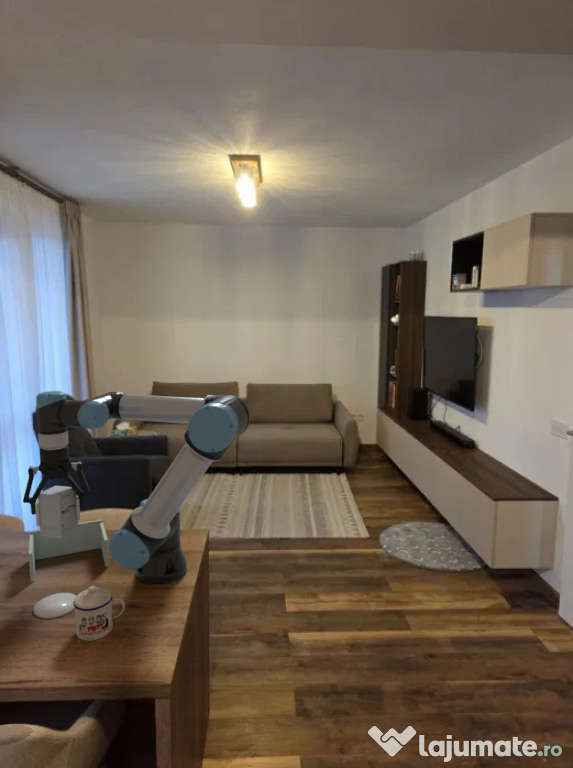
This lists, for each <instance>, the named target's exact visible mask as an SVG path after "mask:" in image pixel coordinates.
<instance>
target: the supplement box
mask: <svg viewBox="0 0 573 768" xmlns="http://www.w3.org/2000/svg"><path fill="white" fill-rule="evenodd" d="M76 496H77V494H76V493H75V491H74V490H73V489H72V487H71V486H64V485H63V486H62V485H54V486H52V487H49V488H47V489H45V490H42V491H41V493H40V495H39V497H38V498H37V501H38V505H39V520H40V526H39V530H40V535H41V536H47V537H54V538H63V537H64V536H66V535H67V534H69V533H70V532H72V531H74V530H75V529H77V528H78V523H79V522H78V521H77V504H76Z"/></svg>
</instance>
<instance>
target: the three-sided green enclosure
mask: <svg viewBox="0 0 573 768" xmlns="http://www.w3.org/2000/svg"><path fill="white" fill-rule="evenodd" d="M28 542H29V543H28V563H29V578H30V583H35V581H36V580H35V576H36V575H35V574H36V573H35V572H36V571H35V570H36V561H37V560H38V561H39V560H43V559H49V558H54V557H60V556H65V555H70V554H75V553H81V552H86V551H92V550H98V549H101V553H102V558H103V561H104V566H105V568H108V567H110V559H109V539H108V535H107V532H106V528H105V525H104V520H103V519H97V520H91V521H85V522H78V528H77V529H75V530H74V531H72V532H70V533H69V534H67V535H66V536H64V537H63V538H54V537H47V536H41V535H40V529H35V530H30V531H29V541H28Z"/></svg>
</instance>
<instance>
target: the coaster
mask: <svg viewBox="0 0 573 768" xmlns="http://www.w3.org/2000/svg"><path fill="white" fill-rule="evenodd" d="M76 596H77V595H75V593H71V592H57V593H54V594H53V593H52V594H50V595H48V596H44V597H43V598H41V599H40V600H38V601H37V602H36V604H35V605H34V607H33V613H34V615H35V617H38V618H40V619H55V618H58V617H59V618H60V617H62V616H65V615H67V614H69V613H71V612H72V611H75V607H74V605H73V602H74V599H75V597H76Z"/></svg>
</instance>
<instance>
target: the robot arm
mask: <svg viewBox="0 0 573 768" xmlns="http://www.w3.org/2000/svg"><path fill="white" fill-rule="evenodd" d="M66 396H67V395H66V393H65V392H64V391H62V390H51V391H49V390H48V391H44V392H39V393H38V394H37V395H36V397H35V398H36V401H35V402H36V404H35V405H36V406H35V410H36V411H35V412H36V418H37V428H38V430H37V431H38V432H37V435H38V437H37V438H38V446H39V450H38V451H39V461H40V462H39V465H38V466H33V465H30V466H29V467H28V470H27V473H28V480H27V482H26V488H25V492H24V494H23V495H24V496H23V499H22V502H23V503H24V504H27V503H28V504H29V505H30V512H31V515H33V516H34V515H35V520H36V521H35V522H36V527H40V520H39V505H38V497H39V495H40V493H41V492H43V489H44V487H45V485H46V484H47V482H48V480H51V481H52V480H56V479H58V480H61V479H62V480H63V479H64V480H65V481H66V482H67V484H68V485H69V487H72V489H73V490H74V491H75V493H76V504H77V521H81V509H83V508H84V507H85V503H84V501H85V500H84V498H85V497H86V496H89V495H90V494H91V493H90V492H91V490H90V488H89V485H88V482H87V480H86V477H85V475H84V472H83V470H82V469H83V468H82V461H80V460H79V461H77V462H71V458H70V447H69V446H68V445H69V433H68V432H69V430H68V428H76V429H78V428H79V429H88V430H93V429H95V430H96V429H97V430H98V429H102V428H104V427H105V426H106V424H107V423H108V421H110V420H129V421H143V422H144V421H145V422H158V423H161V422H162V423H173V424H187V429H186V431H185V432H184V434H183V440H184V445H183V446H182V448H181V449H180V450H179V452H178V453H177V455H176V456H175V458H174V460H173V461H172V463H171V464H170V465H169V467H168V468H167V470H166V471H165V473H164V474H163V476H162V477H161V479H160V480H159V482H157V484H156V486H155V487H154V490H153V491H152V492H151V493H150V495H149V496H148V498H146V499H144V500H142V501H141V502H140V504H139V506H138V507H136V508H134V509H133V510H132V512H131V513H130V515H129V516H128V517H127V518H126V521H125V522H124V524H123V525H121V527H120V528H119V529H117V530H116V531H115V532H114V533H113V534H112V535H111V537H110V538H109V540H108V551H109V552H110V556H111V557H112V559H113V561H114V562H115V563H116V564H118V566H119V567H121V568H124V569H127V570H134V571H135V570H136V578H137V579H138V581H140V582H141V583H144V584H147V585H165V584H169V583H172V582H173V583H174V582H175V581H178V580H179V579H181V578H183V576H184V575H185V574H186V572H187V570H188V566H187V564H188V563H187V562H188V561H187V559H186V556H185V554H184V551H183V549H182V544H181V510H180V508H182V506H183V505H184V503H185V502H186V500H187V498H188V497H189V496H190V494H191V493H192V492H193V490H194V488H195V487H196V486H197V485H198V483H199V481H200V480H201V479H202V477H203V476H204V475H205V473H206V472H207V470H208V469H209V467H210V466H211V464H212V463H213V462H218V461H219V462H220V461H221V460H222V459H223V457H224V456H225V455H226V453H228V450H229V449H230V447H232V444H233V443H234V442H235V441H236V439H237V438H239V437H240V436H242V435H243V434H244V433H245V432H246V431H247V429H248V428H249V426H250V423H251V420H252V414H251V410H250V407H249V405H248V404H247V403H246V402H245V400H244V399H242V397H239V396H236V395H231V394H229V395H226V394H223V395H222V394H219V395H214V394H207V396H205V397H204V398H203V397H186V396H185V397H184V396H183V397H182V396H163V395H149V394H148V395H145V394H131V393H130V394H127V393H124V392H122V391H109V392H107V393H103V394H100V395H97V396H94V397H90V398H87V399H84V400H83V399H82V400H79V399H77V400H74V399H72V400H71V399H67V397H66ZM72 468H73V470H74V471H76V473H77V476H78V479H79V481H80V484H81V487H82V489H83V490H82V489H81V487H80V486H79V485H78V483H77V482H76V481H75V480H74V479H73V477H72V476H71V473H70V472H69V471H70V469H72ZM38 472H40V473H41V474H42V475H43V476H42V479H41V480H40V482H39V484H38V486H37V488H36V489H35V491H34V493H33V495H32V496H30V494H31V490H32V486H33V482H34V477H35V476H36V475H37V473H38Z"/></svg>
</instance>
